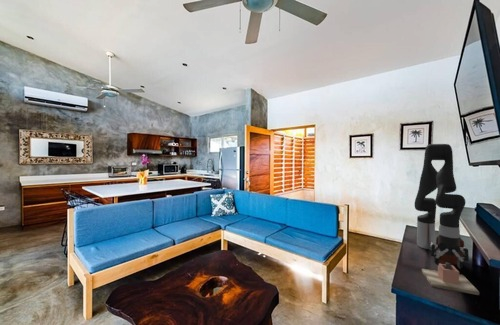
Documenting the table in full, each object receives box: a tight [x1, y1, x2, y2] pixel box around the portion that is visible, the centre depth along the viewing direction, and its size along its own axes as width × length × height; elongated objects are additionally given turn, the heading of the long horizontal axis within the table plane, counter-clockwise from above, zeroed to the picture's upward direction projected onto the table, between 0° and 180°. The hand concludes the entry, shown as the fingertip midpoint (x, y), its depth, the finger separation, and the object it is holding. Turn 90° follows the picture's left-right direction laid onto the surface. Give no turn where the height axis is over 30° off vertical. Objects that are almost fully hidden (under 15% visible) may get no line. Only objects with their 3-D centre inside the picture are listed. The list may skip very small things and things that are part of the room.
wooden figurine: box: [435, 235, 465, 266], centre depth 122 cm, size 12×6×18 cm, turn 77°
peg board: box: [421, 262, 480, 296], centre depth 105 cm, size 14×17×10 cm
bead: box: [437, 263, 460, 284], centre depth 105 cm, size 6×6×6 cm
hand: (447, 266), depth 105 cm, fingers open, 8 cm apart
